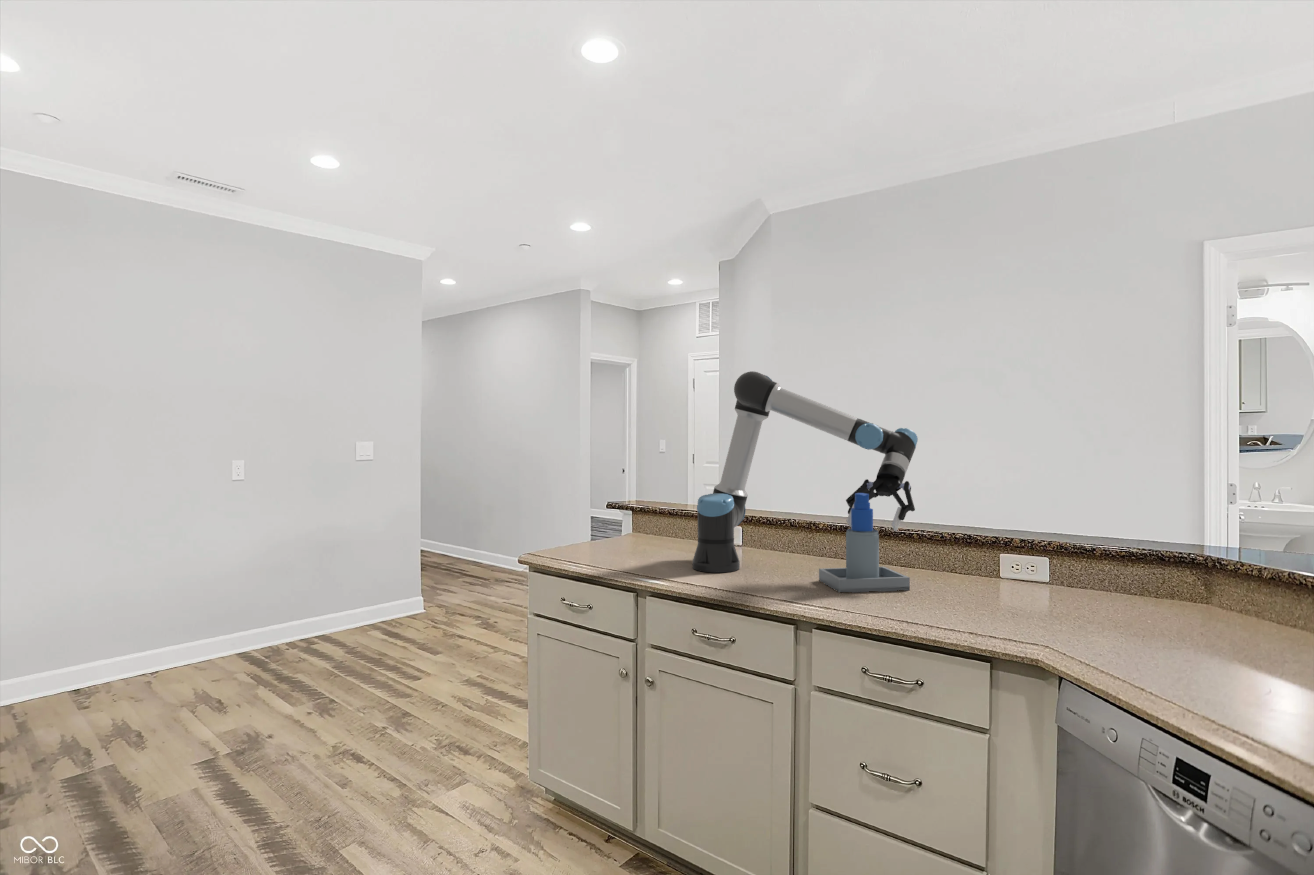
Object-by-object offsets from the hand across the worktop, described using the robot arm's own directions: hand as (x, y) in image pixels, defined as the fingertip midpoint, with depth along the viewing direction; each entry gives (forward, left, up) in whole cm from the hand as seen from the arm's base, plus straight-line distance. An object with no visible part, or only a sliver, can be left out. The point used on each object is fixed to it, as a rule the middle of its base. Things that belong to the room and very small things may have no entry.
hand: (871, 525), depth 186 cm
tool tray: (+3, -4, -16) cm, 17 cm away
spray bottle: (+3, -4, -16) cm, 16 cm away
